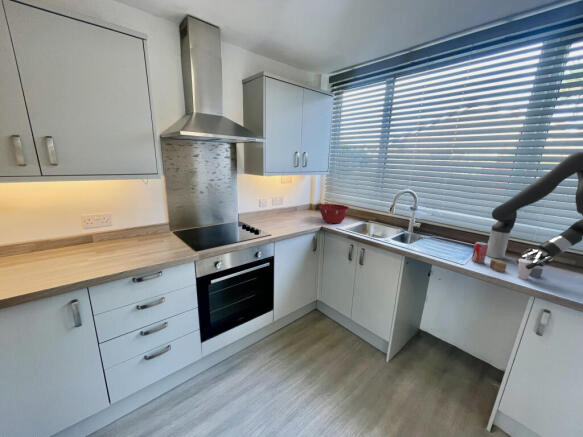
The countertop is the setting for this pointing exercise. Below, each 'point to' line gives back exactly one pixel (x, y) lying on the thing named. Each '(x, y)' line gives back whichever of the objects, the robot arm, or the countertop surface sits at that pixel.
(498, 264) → the walnut block
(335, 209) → the mixing bowl
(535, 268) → the charcoal block
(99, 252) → the countertop surface
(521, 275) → the smoothie
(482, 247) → the soda can
